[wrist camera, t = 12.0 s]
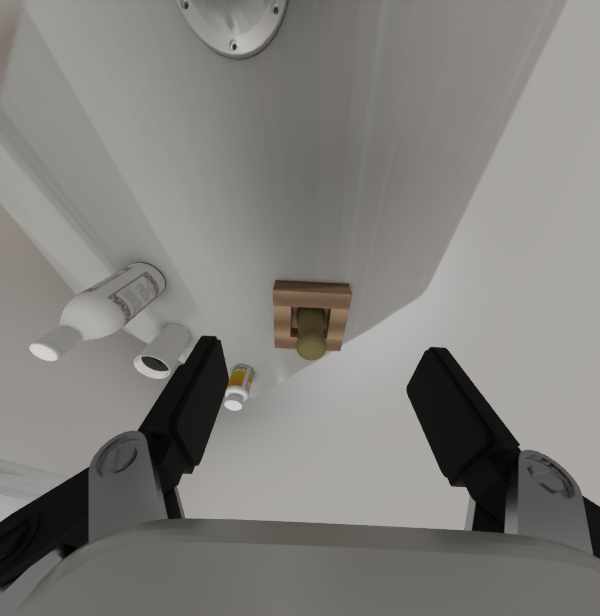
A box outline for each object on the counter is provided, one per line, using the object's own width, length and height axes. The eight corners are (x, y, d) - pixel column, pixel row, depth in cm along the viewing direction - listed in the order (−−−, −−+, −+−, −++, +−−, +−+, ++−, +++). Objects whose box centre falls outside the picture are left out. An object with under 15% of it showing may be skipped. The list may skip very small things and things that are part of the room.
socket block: (275, 280, 41) (273, 290, 38) (348, 283, 41) (351, 294, 38) (277, 335, 49) (274, 347, 46) (338, 338, 49) (340, 351, 46)
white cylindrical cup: (166, 317, 47) (135, 350, 39) (196, 329, 49) (173, 363, 40) (160, 337, 50) (131, 371, 42) (188, 348, 52) (166, 382, 44)
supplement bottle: (229, 371, 56) (216, 405, 48) (241, 361, 54) (229, 395, 46) (246, 380, 58) (236, 415, 50) (258, 371, 56) (249, 406, 48)
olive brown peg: (330, 318, 45) (336, 358, 36) (304, 329, 47) (304, 369, 37) (316, 297, 42) (319, 333, 33) (290, 309, 44) (286, 347, 35)
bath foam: (128, 285, 43) (15, 362, 26) (129, 255, 39) (-2, 321, 23) (164, 298, 44) (79, 378, 28) (168, 271, 41) (73, 343, 24)
